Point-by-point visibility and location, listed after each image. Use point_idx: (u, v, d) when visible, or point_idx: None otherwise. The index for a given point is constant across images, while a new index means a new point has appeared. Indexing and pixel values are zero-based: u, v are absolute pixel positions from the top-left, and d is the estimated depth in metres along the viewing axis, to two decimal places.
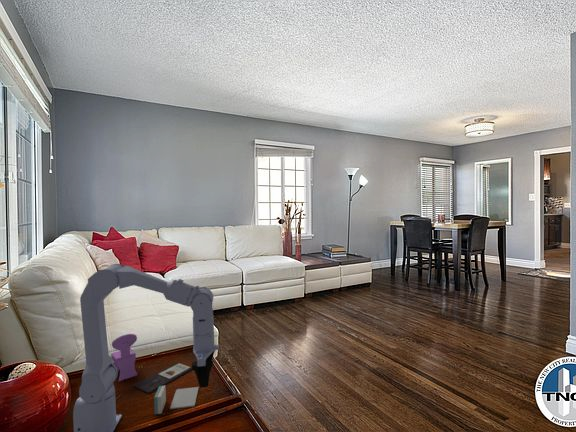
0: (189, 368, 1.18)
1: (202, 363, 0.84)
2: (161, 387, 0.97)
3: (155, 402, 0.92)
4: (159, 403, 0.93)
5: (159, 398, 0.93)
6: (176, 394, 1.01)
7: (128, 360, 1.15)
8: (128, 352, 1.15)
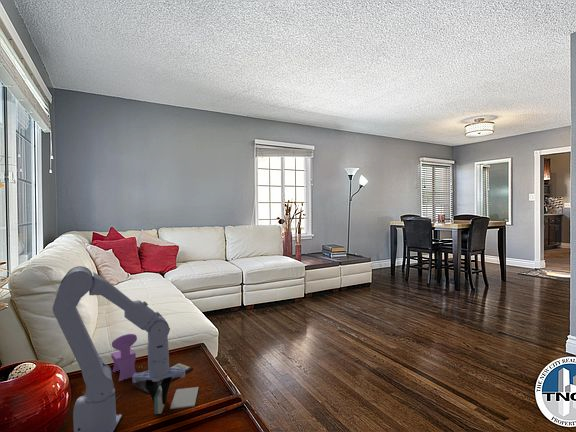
0: (188, 368, 1.18)
1: None
2: (161, 387, 0.97)
3: (155, 402, 0.92)
4: (159, 403, 0.93)
5: (159, 398, 0.93)
6: (176, 394, 1.01)
7: (128, 360, 1.15)
8: (128, 352, 1.15)
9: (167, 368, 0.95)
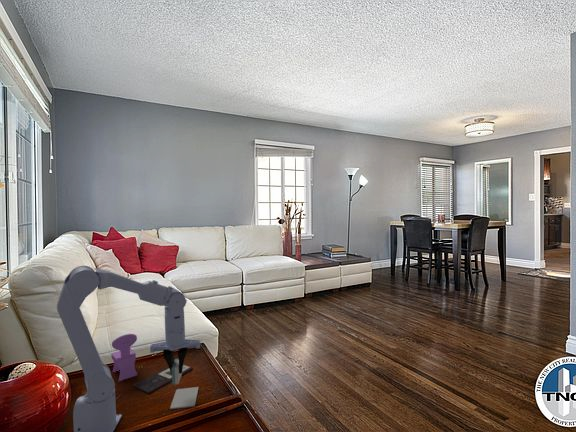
0: (188, 368, 1.18)
1: None
2: (177, 360, 1.02)
3: (172, 373, 0.97)
4: (176, 374, 0.97)
5: (176, 369, 0.97)
6: (176, 394, 1.01)
7: (128, 360, 1.15)
8: (128, 352, 1.15)
9: (183, 339, 0.99)
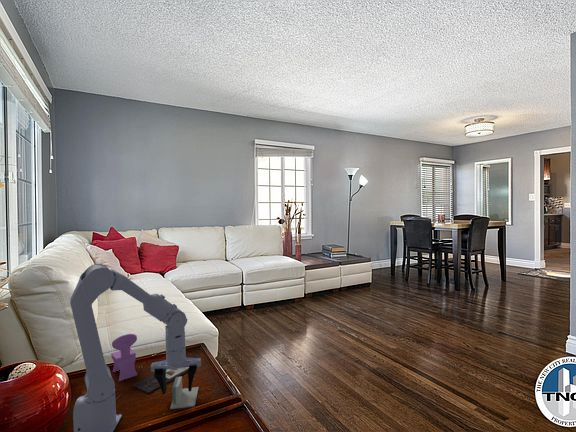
0: (188, 368, 1.18)
1: None
2: (178, 378, 1.02)
3: (173, 392, 0.97)
4: (177, 393, 0.97)
5: (177, 388, 0.97)
6: None
7: (128, 360, 1.15)
8: (128, 352, 1.15)
9: (184, 357, 0.99)
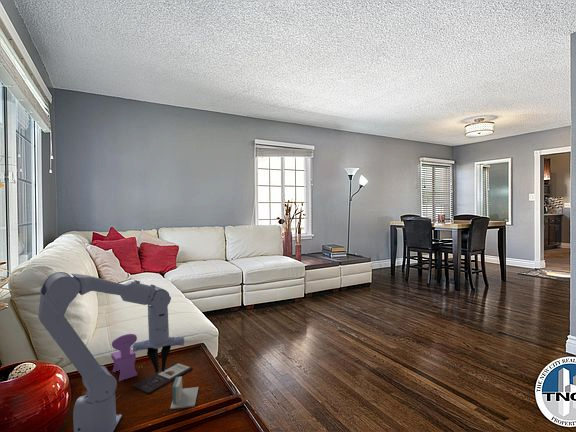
0: (188, 368, 1.18)
1: None
2: (178, 378, 1.02)
3: (173, 392, 0.97)
4: (177, 393, 0.97)
5: (177, 388, 0.97)
6: None
7: (128, 360, 1.15)
8: (128, 352, 1.15)
9: (167, 336, 0.98)
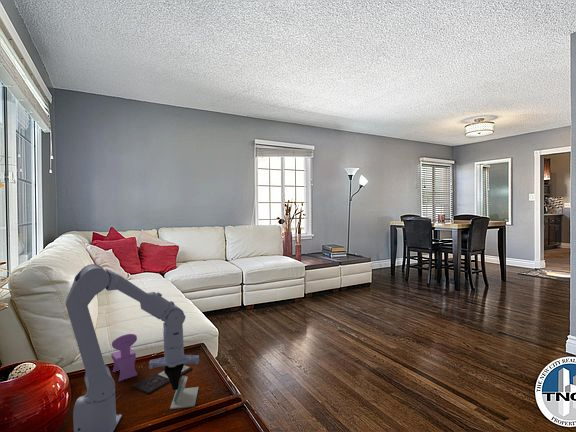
0: (188, 368, 1.18)
1: None
2: (184, 377, 1.02)
3: (178, 390, 0.97)
4: (181, 392, 0.97)
5: (183, 388, 0.97)
6: None
7: (128, 360, 1.15)
8: (128, 352, 1.15)
9: (182, 355, 0.99)
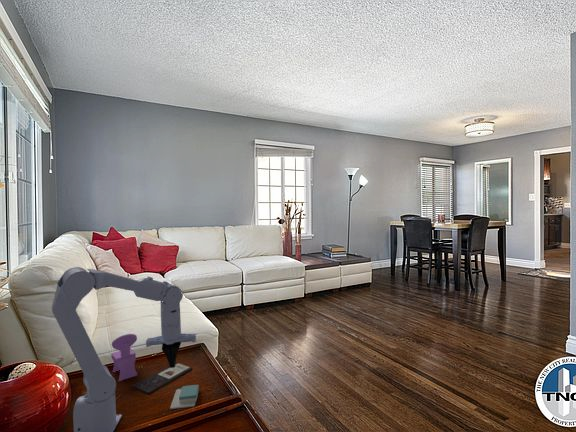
0: (188, 368, 1.18)
1: None
2: (198, 388, 1.03)
3: (191, 396, 0.97)
4: (189, 400, 0.97)
5: (194, 400, 0.98)
6: (176, 394, 1.01)
7: (128, 360, 1.15)
8: (128, 352, 1.15)
9: (179, 333, 1.00)
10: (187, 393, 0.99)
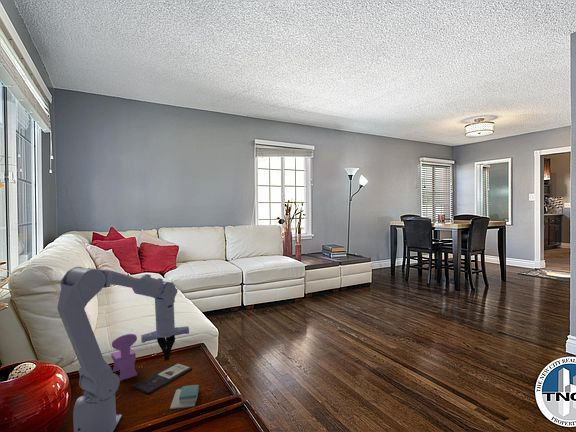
0: (188, 368, 1.18)
1: (141, 340, 1.01)
2: (198, 388, 1.03)
3: (191, 396, 0.97)
4: (189, 400, 0.97)
5: (194, 400, 0.98)
6: (176, 394, 1.01)
7: (128, 360, 1.15)
8: (128, 352, 1.15)
9: (174, 326, 1.05)
10: (187, 393, 0.99)
